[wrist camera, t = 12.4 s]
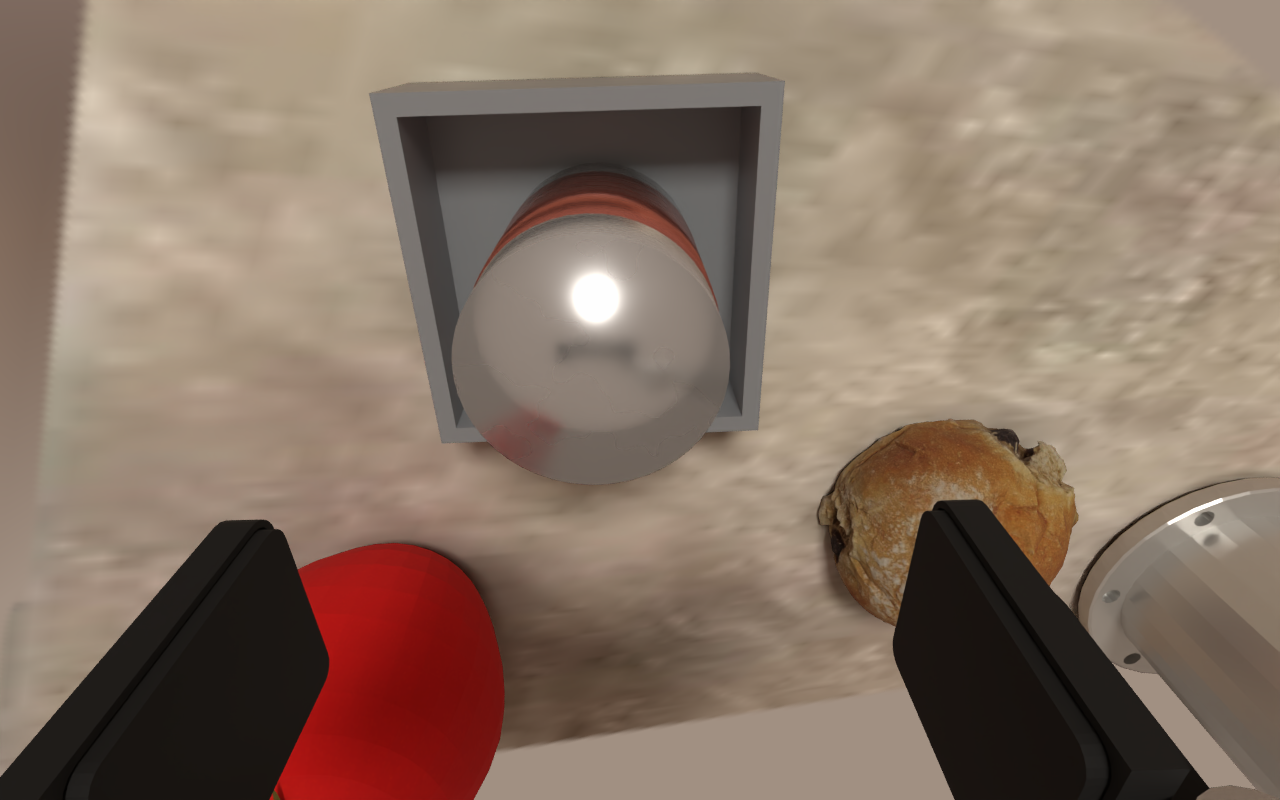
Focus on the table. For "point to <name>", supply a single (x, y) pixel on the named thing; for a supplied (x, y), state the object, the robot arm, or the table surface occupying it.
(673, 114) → the crate
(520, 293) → the red drink can
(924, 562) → the robot arm
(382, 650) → the tomato
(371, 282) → the table surface
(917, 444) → the bread roll
